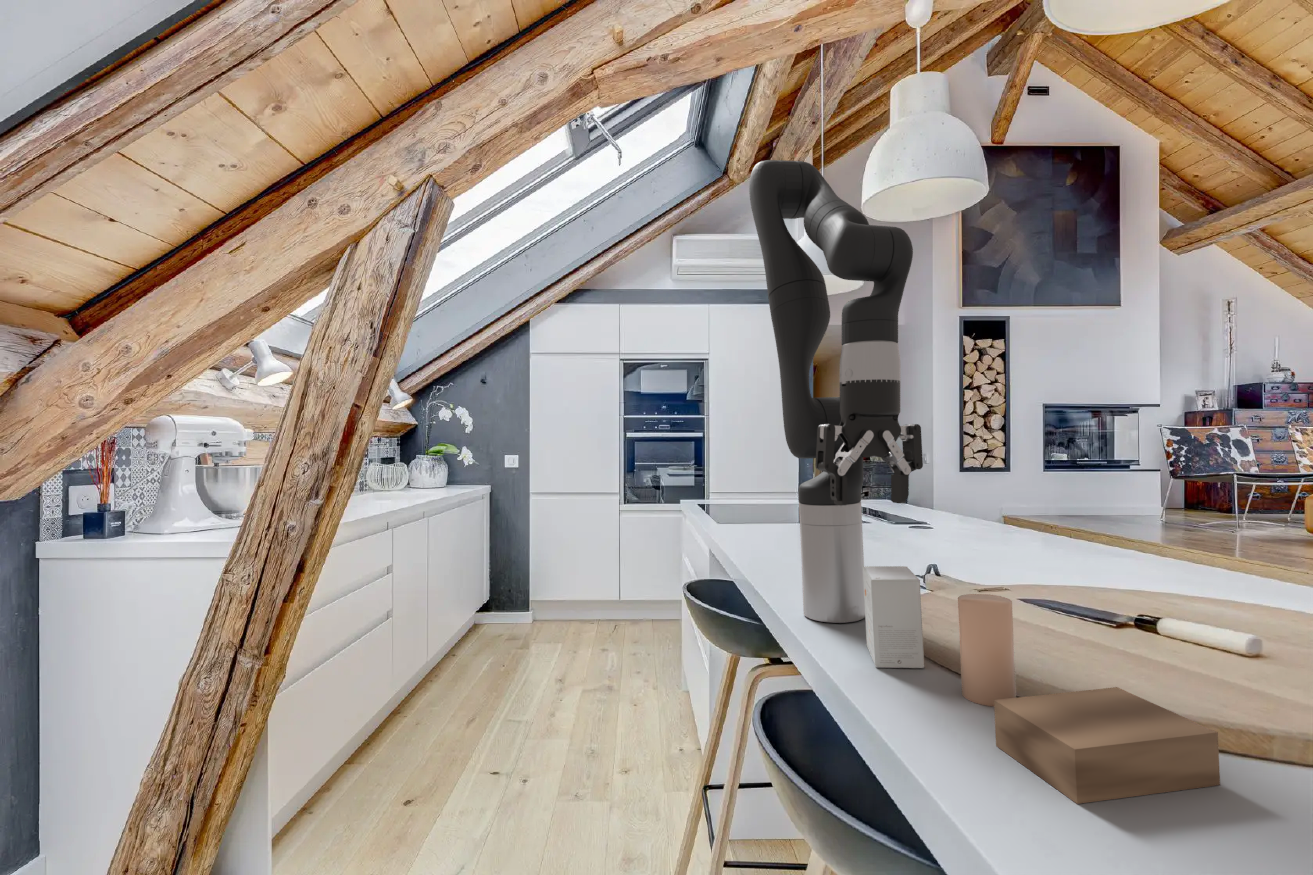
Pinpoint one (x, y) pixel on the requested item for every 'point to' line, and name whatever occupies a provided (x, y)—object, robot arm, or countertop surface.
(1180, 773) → the walnut plinth
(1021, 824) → the countertop surface
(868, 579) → the small box
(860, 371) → the robot arm
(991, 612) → the terracotta canister
